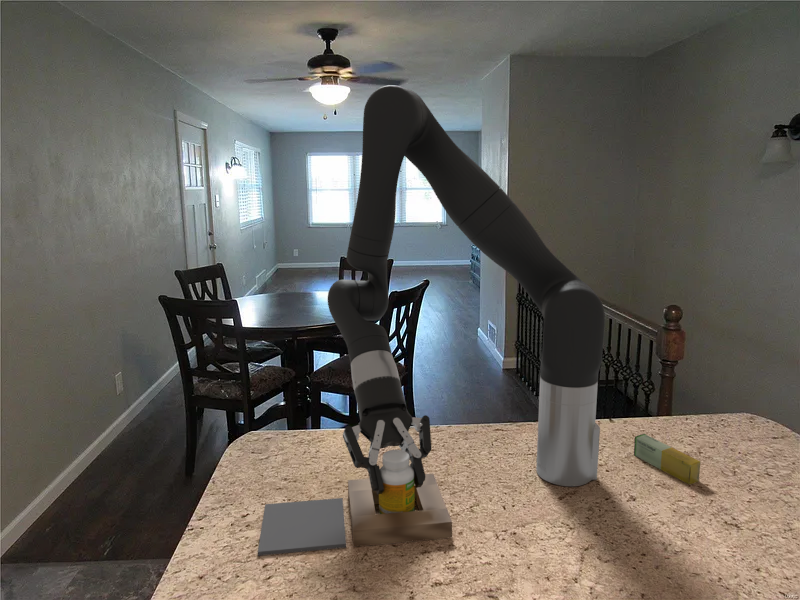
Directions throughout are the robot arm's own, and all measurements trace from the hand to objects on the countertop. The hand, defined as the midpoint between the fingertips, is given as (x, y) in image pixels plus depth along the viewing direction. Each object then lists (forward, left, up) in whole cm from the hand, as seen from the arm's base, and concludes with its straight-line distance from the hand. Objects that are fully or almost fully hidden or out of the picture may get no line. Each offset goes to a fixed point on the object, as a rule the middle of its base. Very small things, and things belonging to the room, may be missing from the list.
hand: (400, 488), depth 87 cm
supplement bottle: (0, -2, -5) cm, 6 cm away
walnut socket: (0, -2, -5) cm, 6 cm away
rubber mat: (+14, -1, -5) cm, 15 cm away
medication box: (-48, -9, -6) cm, 49 cm away
